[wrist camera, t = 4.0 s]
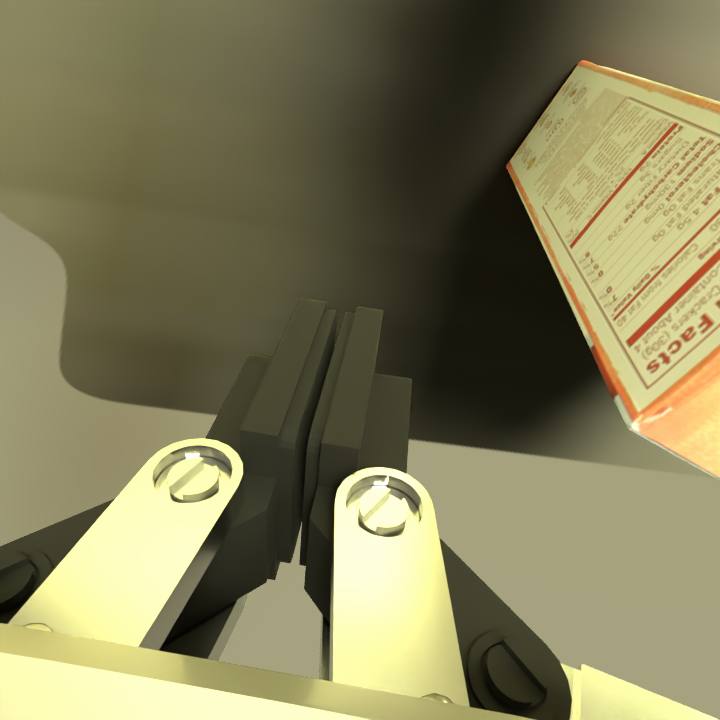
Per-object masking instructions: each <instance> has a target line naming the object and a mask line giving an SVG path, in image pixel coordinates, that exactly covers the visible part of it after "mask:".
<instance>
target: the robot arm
mask: <svg viewBox="0 0 720 720" xmlns="http://www.w3.org/2000/svg"><path fill="white" fill-rule="evenodd" d="M382 317H383V310H381V309H374V308H367V307H361V306H357V307H356V311H355V313H353V312H345V314H344V317H343V321H342V324H341V327H340V331H339V334H338V338H337V341H336V345H335V336H336V325H337V310H333V309H328V302H327V301H321V300H314V299H307V298H300V300H299V302H298V304H297V306H296V308H295V310H294V313H293V315H292V317H291V319H290V321H289V323H288V326H287V328H286V330H285V332H284V334H283V336H282V339H281V341H280V343H279V345H278V347H277V350H276V352H275V354H274V356H273V357H269V356H262V355H256V354H252V355H250V356H249V358H248V359H247V361H246V363H245V365H244V366H243V368H242V370H241V372H240V374H239V376H238V378H237V380H236V382H235V383H234V385H233V387H232V389H231V391H230V393H229V395H228V397H227V399H226V400H225V402H224V404H223V406H222V408H221V410H220V412H219V414H218V416H217V417H216V420H215V421H214V423H213V425H212V427H211V429H210V431H209V433H208V434H207V436H206V438H205V439H204V438H200V439H187V440H183V441H180V442H176V443H173V444H171V445H169V446H167V447H165V448H163V449H162V450H159V451H158V452H157V453H156V454H155V455H154V456H153V457H152V458H150V459H149V460H148V462H147V463H146V464H145V465H144V466H143V467H142V468H141V470H140V471H139V472H138V473H137V474H136V475H135V477H134V478H133V479H132V480H131V481H130V482H129V483H128V485H127V486H126V487H125V488H124V489H123V490H122V492H121V493H120V494H119V495H118V496H117V497H116V499H113V500H111V501H108V502H106V503H104V504H101V505H99V506H96V507H94V508H92V509H89V510H87V511H84V512H82V513H80V514H77V515H75V516H72V517H70V518H68V519H65V520H63V521H60V522H58V523H55V524H53V525H51V526H48V527H46V528H43V529H41V530H39V531H37V532H34V533H31V534H29V535H27V536H24V537H22V538H20V539H17V540H15V541H12V542H10V543H7V544H5V545H3V546H0V720H719V719H717V718H715V717H712V716H710V715H707V714H704V713H702V712H700V711H697V710H695V709H692V708H690V707H688V706H685V705H682V704H680V703H678V702H675V701H673V700H670V699H668V698H665V697H663V696H660V695H658V694H655V693H653V692H650V691H648V690H646V689H643V688H641V687H638V686H636V685H633V684H631V683H628V682H626V681H623V680H621V679H618V678H616V677H614V676H611V675H609V674H606V673H604V672H601V671H599V670H596V669H594V668H592V667H589V666H587V665H584V664H581V665H580V666H579V668H578V669H575V668H572V667H569V666H567V665H565V664H562V663H560V662H559V660H558V659H557V658H556V656H555V655H554V654H553V653H552V651H551V650H550V649H549V648H548V646H547V645H546V644H545V643H544V642H543V641H542V640H541V639H540V638H539V637H538V636H537V635H536V634H535V633H534V632H533V631H532V630H531V629H530V628H529V627H528V626H527V625H526V624H525V623H524V622H523V621H522V620H521V619H520V618H519V617H518V616H517V615H516V614H515V613H514V612H513V611H512V610H511V609H510V608H509V607H508V606H507V605H506V604H505V603H504V602H503V601H502V600H501V599H500V598H499V597H498V596H497V595H496V594H495V593H494V592H493V591H492V590H491V589H490V588H489V587H488V586H487V585H486V584H485V583H484V582H483V581H482V580H481V579H480V578H479V577H478V576H477V575H476V574H475V573H474V572H473V571H472V570H471V569H470V568H469V567H468V566H467V565H466V564H465V563H464V562H463V561H462V560H461V559H460V558H459V557H458V556H457V555H456V554H455V553H454V552H453V551H452V550H451V549H450V548H449V547H448V546H447V545H446V544H445V543H444V542H443V541H442V540H441V539H440V538H439V534H438V529H437V523H436V517H435V512H434V506H433V503H432V501H431V498H430V495H429V494H428V492H427V491H426V490H425V488H424V487H423V486H422V485H421V484H420V483H419V482H418V481H416V480H415V479H414V478H412V477H411V476H410V475H408V474H406V470H407V454H408V439H409V423H410V407H411V390H412V379H411V378H404V377H398V376H391V375H385V374H379V373H374V371H375V365H376V358H377V351H378V344H379V338H380V331H381V324H382ZM334 347H335V348H334ZM301 522H302V531H301V548H300V565H304V566H306V572H305V586H304V589H305V591H306V592H307V593H308V595H309V596H310V598H311V599H312V600H313V602H314V603H315V604H316V606H317V607H318V609H319V610H320V612H321V613H322V618H321V639H320V670H319V673H320V674H319V679H314V678H308V677H303V676H297V675H292V674H286V673H280V672H275V671H269V670H264V669H258V668H252V667H247V666H241V665H236V664H231V663H225V662H219V661H218V660H219V658H220V655H221V654H222V652H223V650H224V648H225V645H226V643H227V641H228V639H229V637H230V635H231V633H232V631H233V629H234V627H235V625H236V623H237V621H238V618H239V617H240V615H241V613H242V610H243V608H244V605H245V602H246V599H247V593H249V592H251V591H252V590H254V589H256V588H257V587H259V586H261V585H262V584H264V583H266V581H267V579H272V580H275V578H276V575H277V571H278V567H279V564H280V562H286V563H291V560H292V557H293V553H294V550H295V546H296V542H297V538H298V534H299V530H300V526H301Z"/></svg>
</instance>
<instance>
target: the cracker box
mask: <svg viewBox="0 0 720 720" xmlns="http://www.w3.org/2000/svg"><path fill="white" fill-rule="evenodd" d="M506 168H507V170H508V172H509V174H510V176H511V178H512V180H513V182H514V184H515V187H516V189H517V191H518V193H519V196H520V198H521V200H522V202H523V204H524V206H525V208H526V210H527V213H528V215H529V217H530V219H531V221H532V223H533V226H534V228H535V230H536V232H537V234H538V237H539V239H540V241H541V243H542V245H543V248H544V250H545V252H546V254H547V256H548V258H549V261H550V263H551V265H552V267H553V269H554V271H555V273H556V276H557V278H558V280H559V282H560V284H561V286H562V289H563V291H564V293H565V295H566V297H567V300H568V302H569V304H570V306H571V308H572V311H573V313H574V315H575V317H576V319H577V321H578V324H579V326H580V328H581V330H582V332H583V335H584V337H585V339H586V341H587V343H588V345H589V347H590V350H591V352H592V354H593V356H594V358H595V361H596V363H597V365H598V368H599V370H600V372H601V374H602V377H603V379H604V381H605V383H606V386H607V388H608V390H609V392H610V394H611V397H612V399H613V401H614V402H615V404H616V406H617V408H618V410H619V412H620V414H621V417H622V419H623V421H624V423H625V425H626V427H627V428H628V429H629V430H630V431H632V432H634V433H636V434H637V435H639V436H641V437H643V438H644V439H646V440H648V441H650V442H651V443H653V444H655V445H657V446H658V447H660V448H662V449H664V450H666V451H667V452H669V453H671V454H673V455H674V456H676V457H678V458H680V459H682V460H683V461H685V462H687V463H689V464H691V465H692V466H694V467H696V468H698V469H700V470H701V471H703V472H705V473H707V474H709V475H710V476H712V477H714V478H716V479H718V480H719V481H720V101H717V100H713V99H710V98H707V97H703V96H700V95H697V94H693V93H690V92H687V91H684V90H681V89H677V88H674V87H671V86H668V85H665V84H661V83H658V82H655V81H651V80H648V79H645V78H641V77H638V76H635V75H631V74H628V73H624V72H621V71H618V70H615V69H611V68H608V67H604V66H598V65H596V64H594V63H591V62H588V61H585V60H582V61H580V62H579V63H578V65H577V66H576V68H575V69H574V70H573V72H572V73H571V75H570V76H569V78H568V79H567V80H566V82H565V83H564V84H563V86H562V87H561V89H560V90H559V92H558V93H557V94H556V96H555V97H554V99H553V100H552V102H551V103H550V104H549V106H548V107H547V109H546V110H545V111H544V113H543V114H542V116H541V117H540V119H539V120H538V121H537V123H536V124H535V126H534V127H533V129H532V130H531V131H530V133H529V134H528V136H527V137H526V139H525V140H524V141H523V143H522V144H521V146H520V147H519V148H518V150H517V151H516V153H515V154H514V156H513V157H512V158H511V160H510V161H509V162H508V164H507V165H506Z"/></svg>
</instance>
